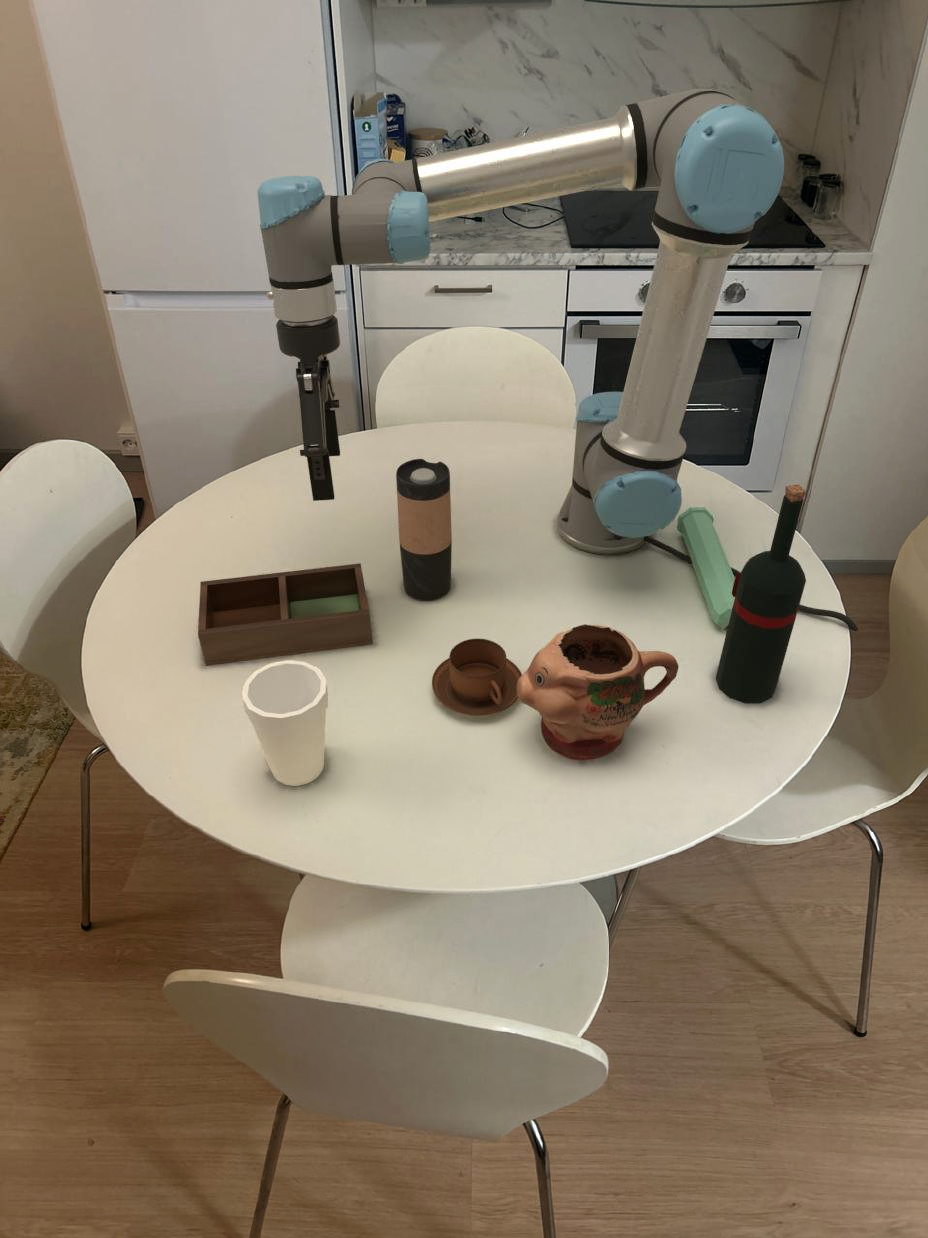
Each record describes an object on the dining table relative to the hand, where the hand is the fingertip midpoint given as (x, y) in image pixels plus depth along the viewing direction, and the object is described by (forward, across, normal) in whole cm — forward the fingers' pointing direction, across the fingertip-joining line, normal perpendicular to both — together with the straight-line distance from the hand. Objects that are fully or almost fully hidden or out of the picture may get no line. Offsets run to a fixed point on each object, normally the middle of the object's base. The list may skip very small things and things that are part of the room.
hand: (327, 476), depth 124 cm
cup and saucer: (+23, +20, +18) cm, 36 cm away
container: (+22, -2, +55) cm, 60 cm away
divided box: (+21, +5, -8) cm, 23 cm away
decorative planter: (+24, +28, +32) cm, 49 cm away
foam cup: (+24, +31, -4) cm, 39 cm away
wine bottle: (+24, +19, +54) cm, 62 cm away
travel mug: (+21, -4, +12) cm, 25 cm away
